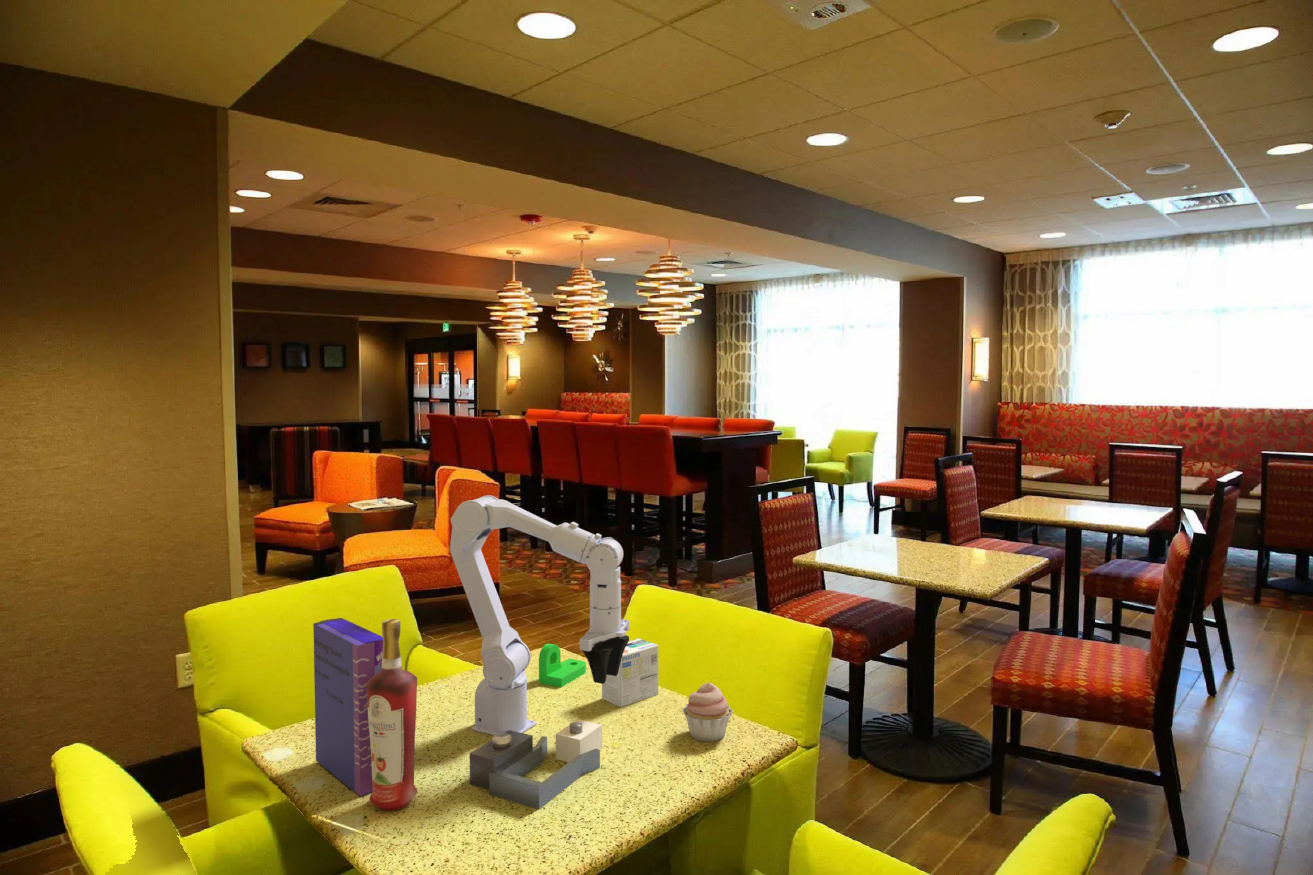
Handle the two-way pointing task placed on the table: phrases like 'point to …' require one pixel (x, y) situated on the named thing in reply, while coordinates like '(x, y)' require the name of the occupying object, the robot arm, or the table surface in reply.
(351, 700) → the cereal box
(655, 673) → the light bulb box
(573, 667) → the mechanical part
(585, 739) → the block
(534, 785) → the motor bracket
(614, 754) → the table surface
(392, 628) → the liquor
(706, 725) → the cupcake
